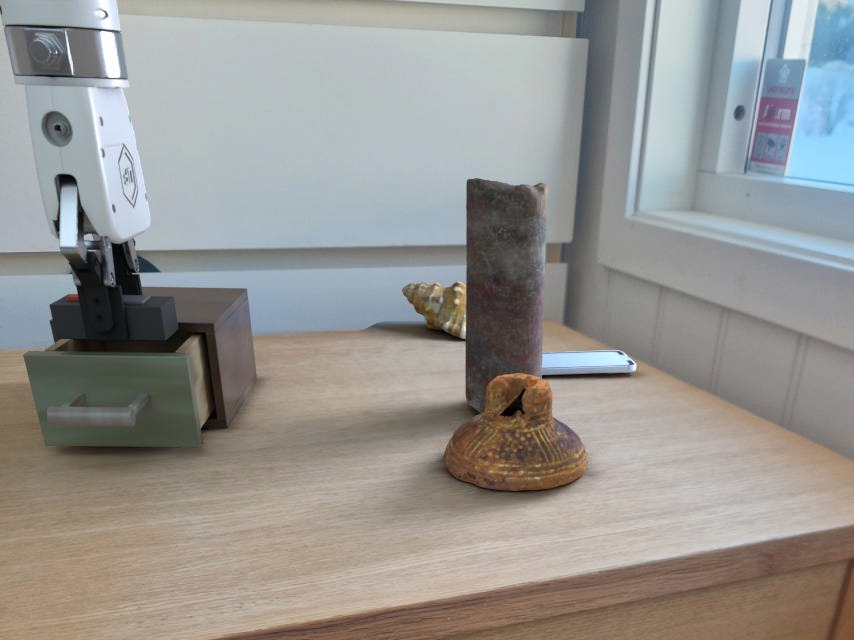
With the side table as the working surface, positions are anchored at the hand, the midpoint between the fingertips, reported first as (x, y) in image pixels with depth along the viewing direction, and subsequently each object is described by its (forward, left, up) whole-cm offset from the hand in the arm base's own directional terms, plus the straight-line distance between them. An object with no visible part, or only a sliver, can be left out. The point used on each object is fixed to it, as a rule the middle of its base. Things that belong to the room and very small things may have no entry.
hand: (117, 329), depth 71 cm
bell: (+32, -6, -9) cm, 34 cm away
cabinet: (0, +11, -9) cm, 14 cm away
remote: (0, 0, 0) cm, 0 cm away
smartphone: (+40, +25, -9) cm, 48 cm away
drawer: (0, 0, -8) cm, 8 cm away
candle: (+32, +10, -9) cm, 35 cm away
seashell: (+27, +42, -9) cm, 51 cm away
